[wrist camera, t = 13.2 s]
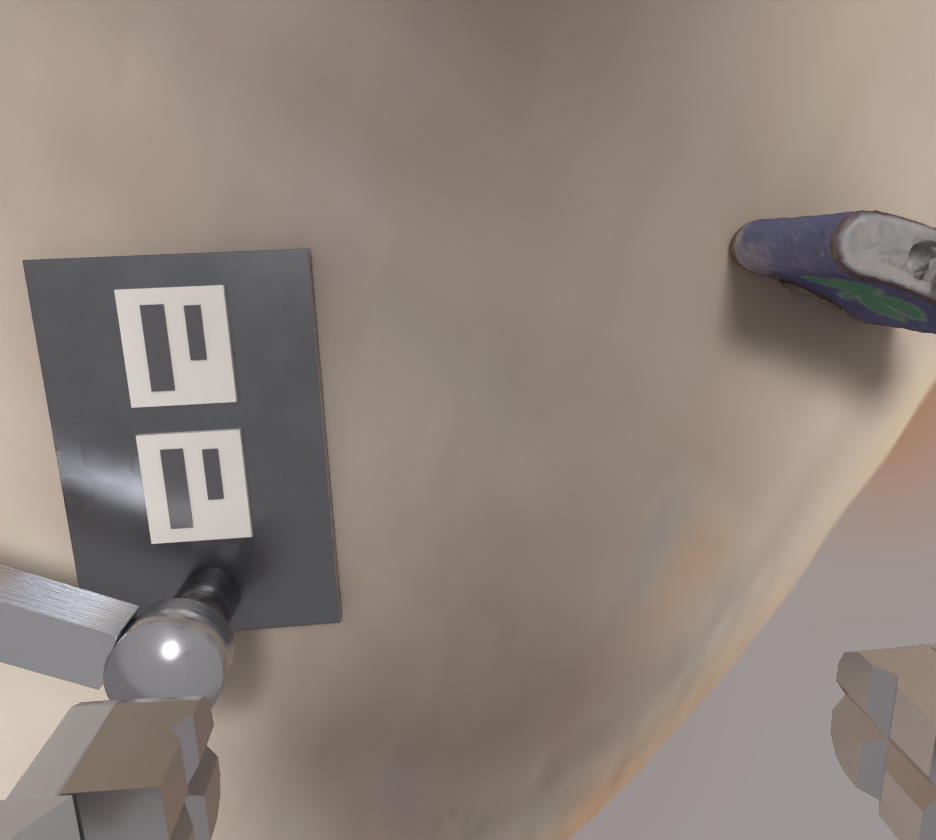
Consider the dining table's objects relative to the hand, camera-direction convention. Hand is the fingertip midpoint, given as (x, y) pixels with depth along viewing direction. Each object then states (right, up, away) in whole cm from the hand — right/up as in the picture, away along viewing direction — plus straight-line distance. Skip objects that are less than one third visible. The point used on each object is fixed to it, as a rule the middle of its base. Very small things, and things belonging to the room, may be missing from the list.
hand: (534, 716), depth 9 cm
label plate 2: (-13, +1, +24) cm, 28 cm away
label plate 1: (-14, +7, +23) cm, 28 cm away
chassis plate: (-14, +2, +25) cm, 29 cm away
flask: (+16, +11, +26) cm, 32 cm away
